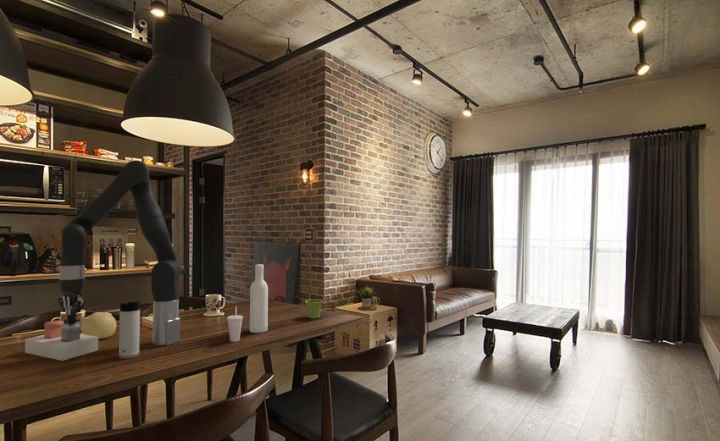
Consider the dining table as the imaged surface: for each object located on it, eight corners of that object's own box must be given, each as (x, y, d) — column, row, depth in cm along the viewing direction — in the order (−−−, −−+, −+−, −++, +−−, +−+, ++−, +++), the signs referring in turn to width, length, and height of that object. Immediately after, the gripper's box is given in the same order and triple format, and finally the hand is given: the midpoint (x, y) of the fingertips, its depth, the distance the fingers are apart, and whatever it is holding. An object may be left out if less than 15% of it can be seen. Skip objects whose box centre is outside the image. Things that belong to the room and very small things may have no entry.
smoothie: (246, 339, 155) (246, 305, 155) (235, 343, 149) (235, 308, 149) (234, 337, 157) (234, 304, 158) (223, 341, 152) (223, 307, 152)
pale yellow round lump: (105, 332, 163) (105, 308, 164) (121, 336, 158) (122, 311, 158) (76, 339, 153) (76, 313, 153) (92, 343, 148) (93, 316, 148)
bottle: (261, 333, 163) (261, 265, 164) (246, 332, 166) (246, 265, 166) (271, 329, 171) (271, 264, 171) (256, 327, 173) (257, 263, 174)
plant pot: (302, 319, 190) (302, 302, 190) (307, 314, 199) (308, 298, 199) (320, 320, 188) (320, 303, 189) (324, 315, 198) (324, 299, 198)
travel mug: (124, 360, 129) (125, 303, 129) (115, 357, 132) (116, 301, 133) (143, 355, 134) (144, 300, 135) (133, 352, 138) (134, 298, 138)
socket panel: (97, 350, 140) (98, 337, 140) (62, 360, 128) (62, 346, 129) (61, 343, 148) (61, 330, 148) (24, 352, 136) (25, 339, 137)
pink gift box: (66, 336, 142) (67, 321, 142) (49, 340, 136) (50, 324, 137) (57, 335, 144) (57, 319, 144) (40, 339, 138) (41, 323, 139)
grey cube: (83, 339, 138) (84, 323, 138) (67, 344, 133) (67, 327, 133) (74, 338, 140) (74, 322, 140) (57, 342, 135) (57, 325, 135)
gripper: (94, 277, 138) (93, 323, 138) (72, 275, 143) (70, 320, 142) (72, 279, 131) (71, 328, 131) (49, 277, 136) (48, 324, 136)
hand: (71, 324), depth 137 cm, fingers closed
